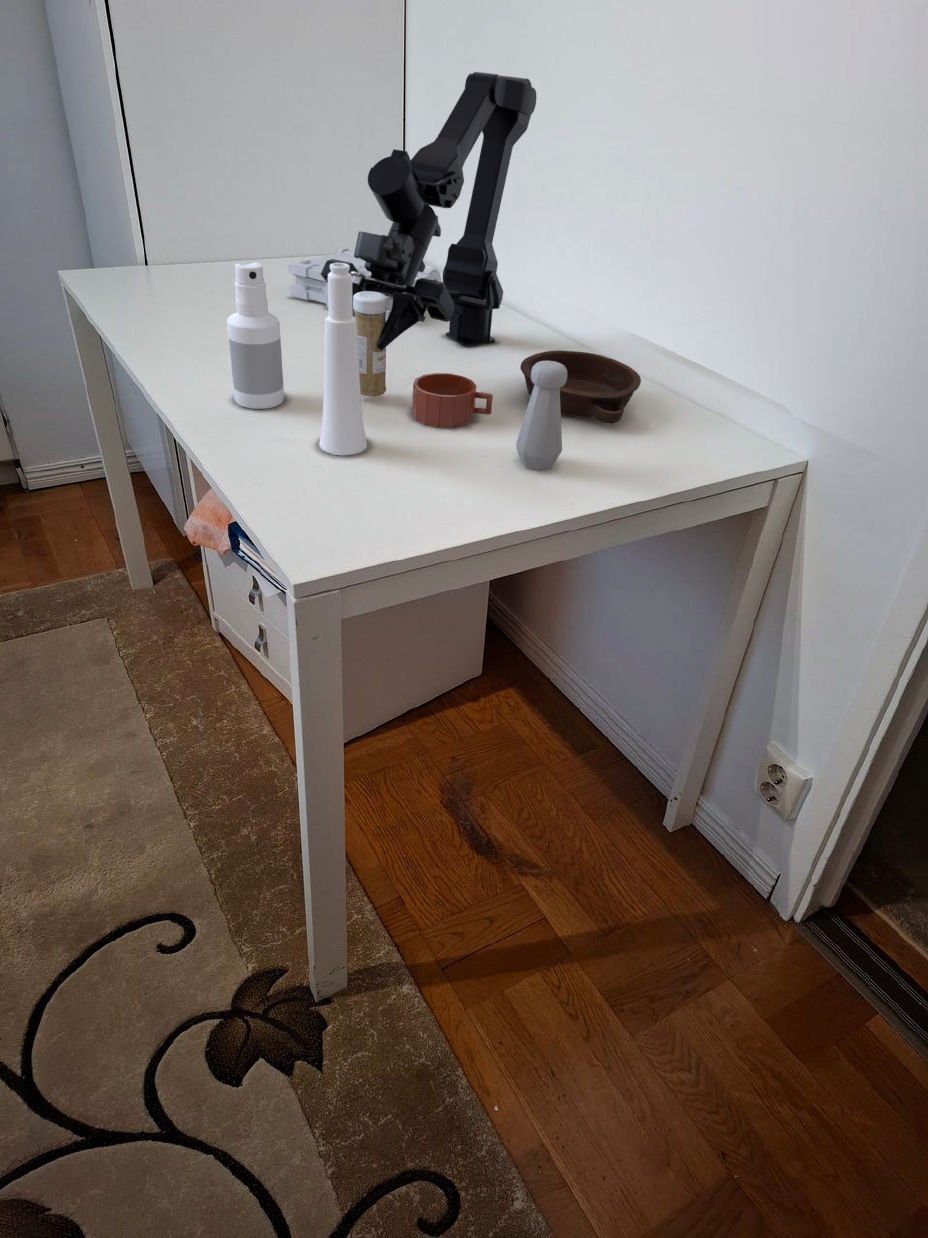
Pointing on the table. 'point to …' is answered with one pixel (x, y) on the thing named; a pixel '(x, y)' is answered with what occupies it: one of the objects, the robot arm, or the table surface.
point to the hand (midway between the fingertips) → (364, 344)
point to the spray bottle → (254, 343)
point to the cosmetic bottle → (341, 370)
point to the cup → (447, 400)
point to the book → (317, 288)
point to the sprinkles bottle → (370, 341)
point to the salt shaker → (543, 418)
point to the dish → (589, 384)
